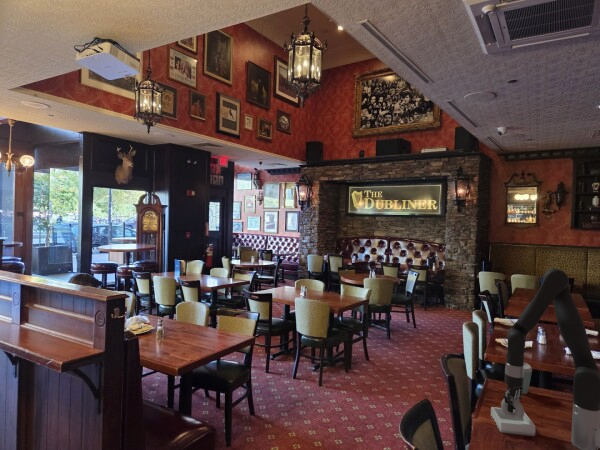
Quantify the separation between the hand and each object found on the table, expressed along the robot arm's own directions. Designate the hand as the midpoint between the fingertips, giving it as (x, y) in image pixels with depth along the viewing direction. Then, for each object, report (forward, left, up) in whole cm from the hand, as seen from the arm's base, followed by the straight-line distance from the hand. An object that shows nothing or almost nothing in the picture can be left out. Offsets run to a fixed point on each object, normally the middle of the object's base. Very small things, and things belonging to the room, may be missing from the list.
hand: (512, 410), depth 179 cm
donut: (0, 0, -4) cm, 4 cm away
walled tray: (0, 0, -7) cm, 7 cm away
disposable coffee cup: (+15, -40, -7) cm, 43 cm away
